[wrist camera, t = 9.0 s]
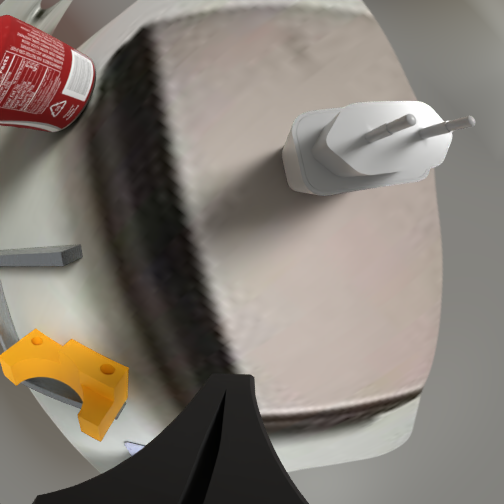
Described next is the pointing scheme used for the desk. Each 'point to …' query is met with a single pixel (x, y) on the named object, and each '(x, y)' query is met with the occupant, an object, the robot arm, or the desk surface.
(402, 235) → the desk surface
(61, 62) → the soda can
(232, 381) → the robot arm
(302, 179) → the power adapter
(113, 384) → the pipe clamp
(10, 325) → the frame
